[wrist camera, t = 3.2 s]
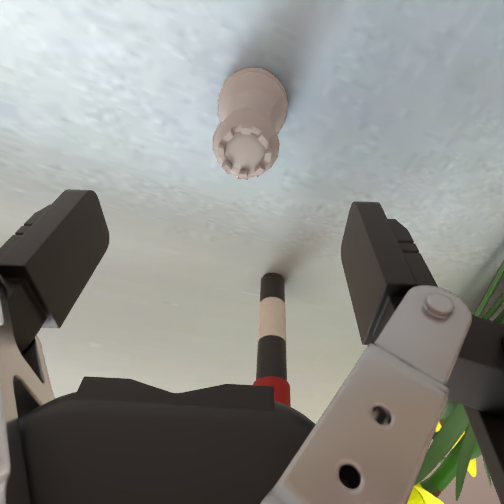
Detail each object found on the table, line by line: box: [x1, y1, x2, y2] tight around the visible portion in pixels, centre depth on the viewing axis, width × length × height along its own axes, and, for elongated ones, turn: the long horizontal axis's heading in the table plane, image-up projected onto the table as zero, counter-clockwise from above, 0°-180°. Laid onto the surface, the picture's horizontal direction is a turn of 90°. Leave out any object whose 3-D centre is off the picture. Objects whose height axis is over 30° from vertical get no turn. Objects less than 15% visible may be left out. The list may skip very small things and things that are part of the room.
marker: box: [253, 273, 290, 407], centre depth 26 cm, size 3×3×14 cm
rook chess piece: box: [213, 67, 288, 180], centre depth 19 cm, size 4×4×8 cm
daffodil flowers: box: [407, 262, 504, 504], centre depth 30 cm, size 17×15×35 cm
